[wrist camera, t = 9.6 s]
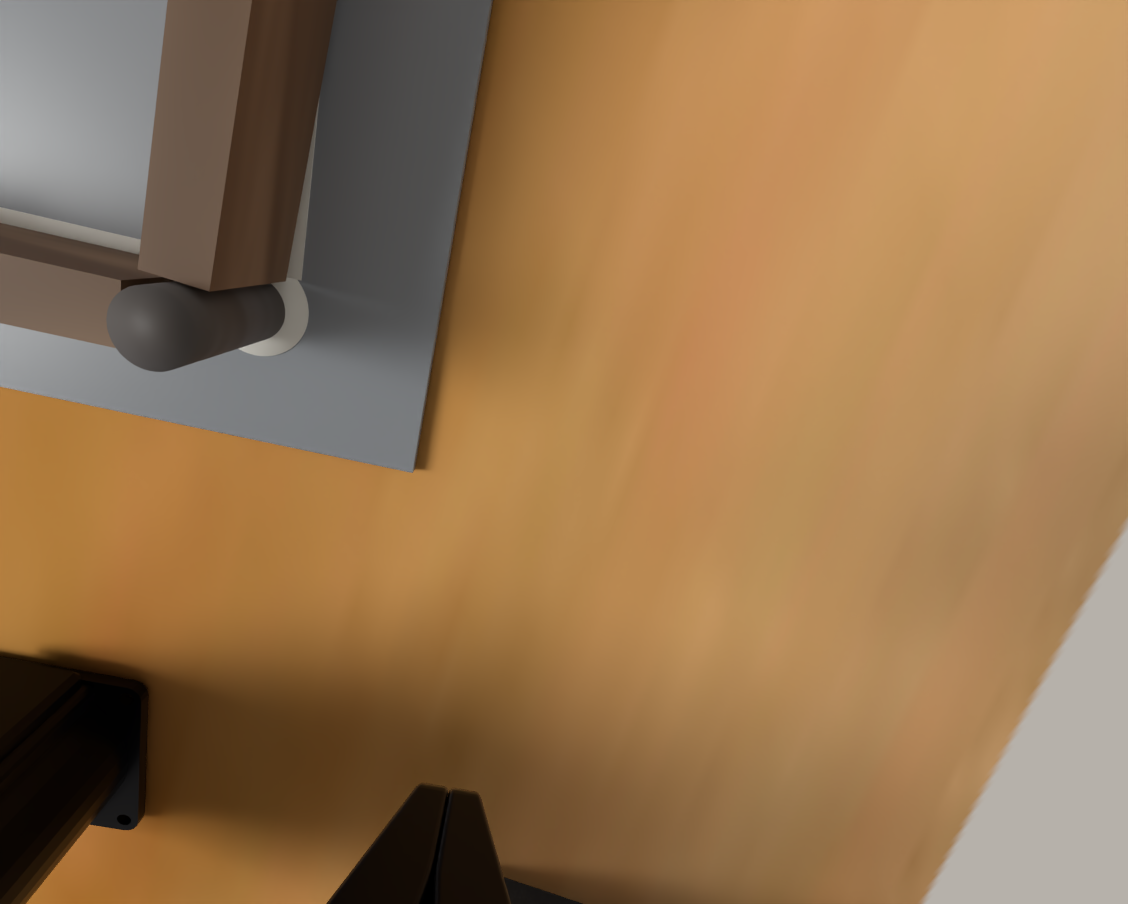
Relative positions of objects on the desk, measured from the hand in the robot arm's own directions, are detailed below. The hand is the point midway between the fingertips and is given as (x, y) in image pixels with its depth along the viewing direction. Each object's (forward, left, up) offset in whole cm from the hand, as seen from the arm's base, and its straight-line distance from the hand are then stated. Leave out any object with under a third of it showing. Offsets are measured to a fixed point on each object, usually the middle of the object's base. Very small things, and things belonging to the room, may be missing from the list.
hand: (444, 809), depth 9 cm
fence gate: (+10, +7, -11) cm, 17 cm away
